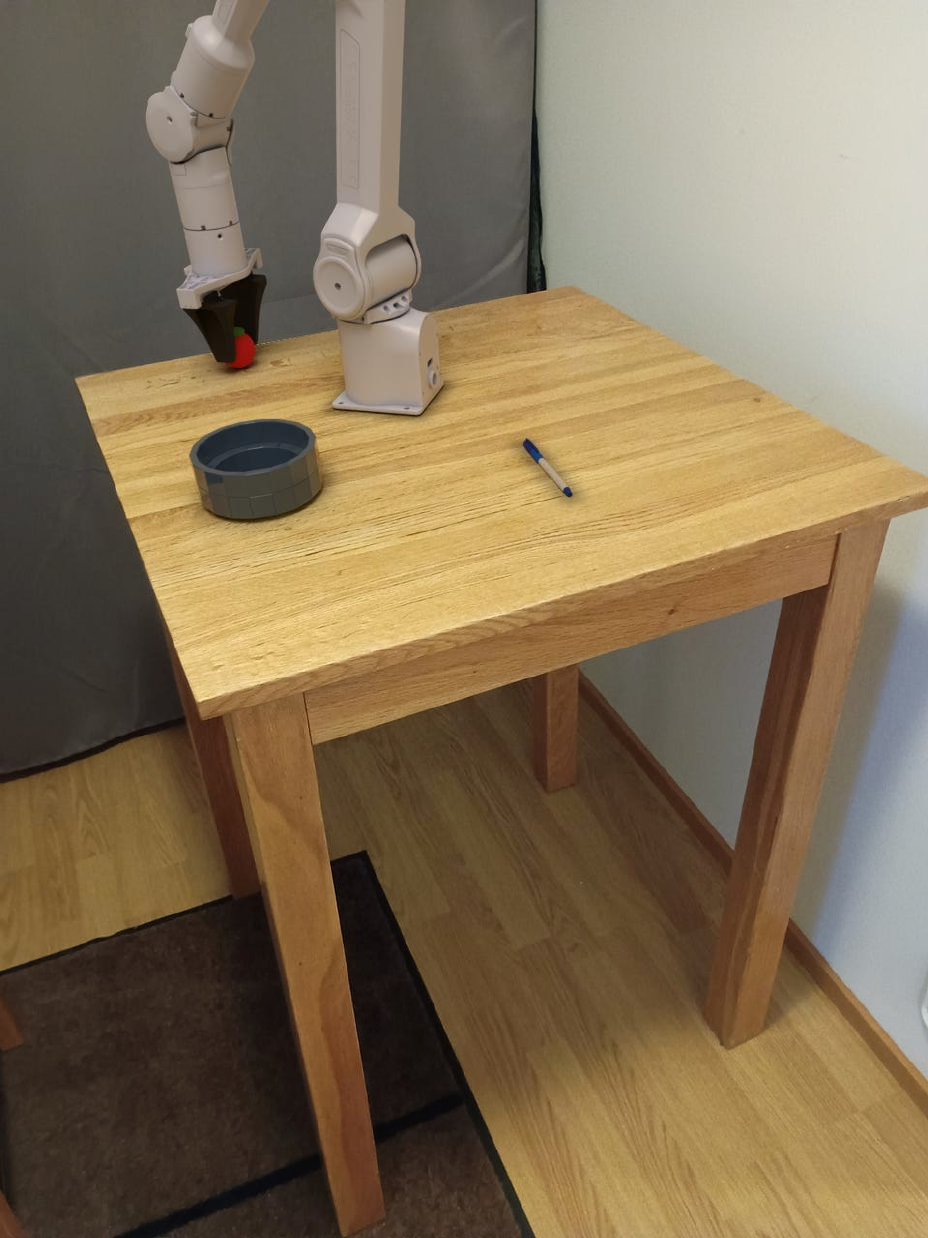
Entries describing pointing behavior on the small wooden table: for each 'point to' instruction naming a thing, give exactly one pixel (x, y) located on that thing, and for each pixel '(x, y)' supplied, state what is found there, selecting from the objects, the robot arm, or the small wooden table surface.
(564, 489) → the ballpoint pen
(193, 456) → the dessert bowl
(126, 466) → the small wooden table surface
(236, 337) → the tomato
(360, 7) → the robot arm
